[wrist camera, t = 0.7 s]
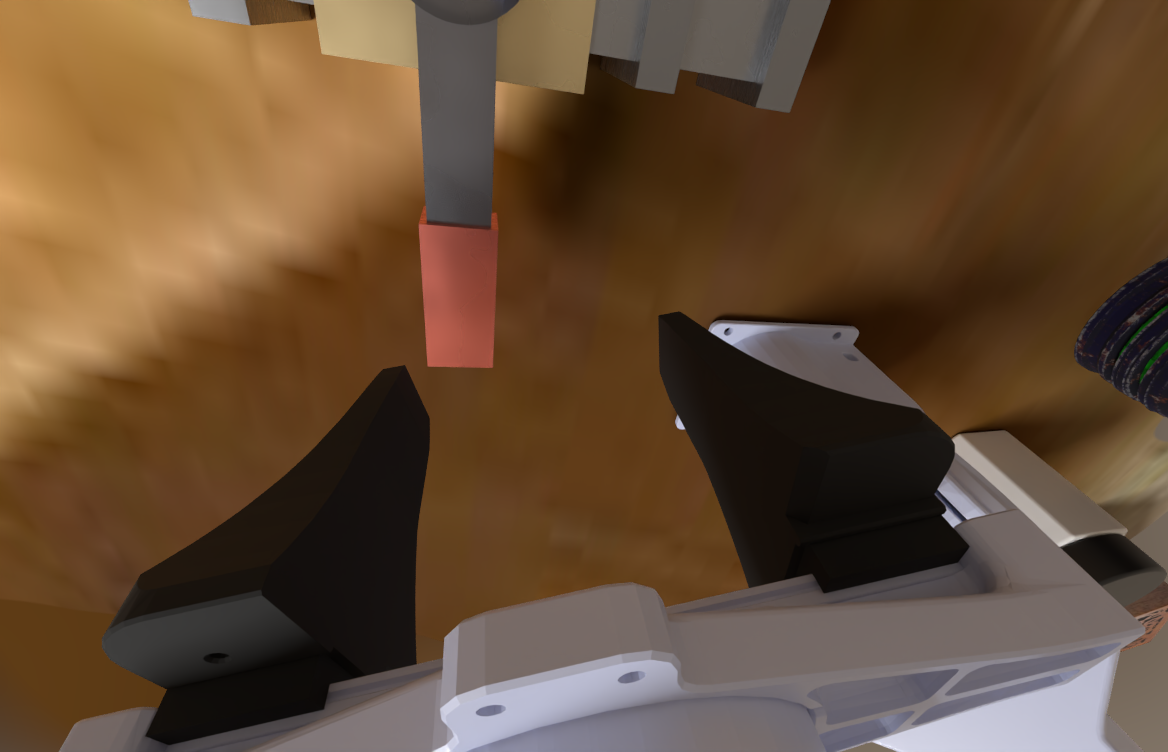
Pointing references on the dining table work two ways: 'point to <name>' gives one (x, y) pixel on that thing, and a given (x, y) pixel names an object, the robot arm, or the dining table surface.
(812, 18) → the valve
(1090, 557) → the jar
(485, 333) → the lever
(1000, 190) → the dining table surface
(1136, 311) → the storage jar
